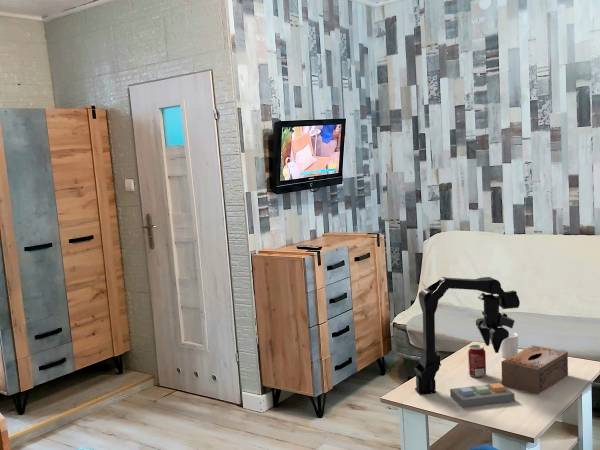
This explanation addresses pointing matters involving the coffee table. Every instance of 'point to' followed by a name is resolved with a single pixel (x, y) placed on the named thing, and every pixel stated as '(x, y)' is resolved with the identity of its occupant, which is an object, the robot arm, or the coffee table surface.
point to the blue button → (466, 391)
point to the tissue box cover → (534, 369)
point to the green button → (481, 389)
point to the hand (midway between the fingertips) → (492, 349)
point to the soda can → (477, 361)
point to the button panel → (482, 397)
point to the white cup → (509, 345)
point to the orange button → (496, 387)
